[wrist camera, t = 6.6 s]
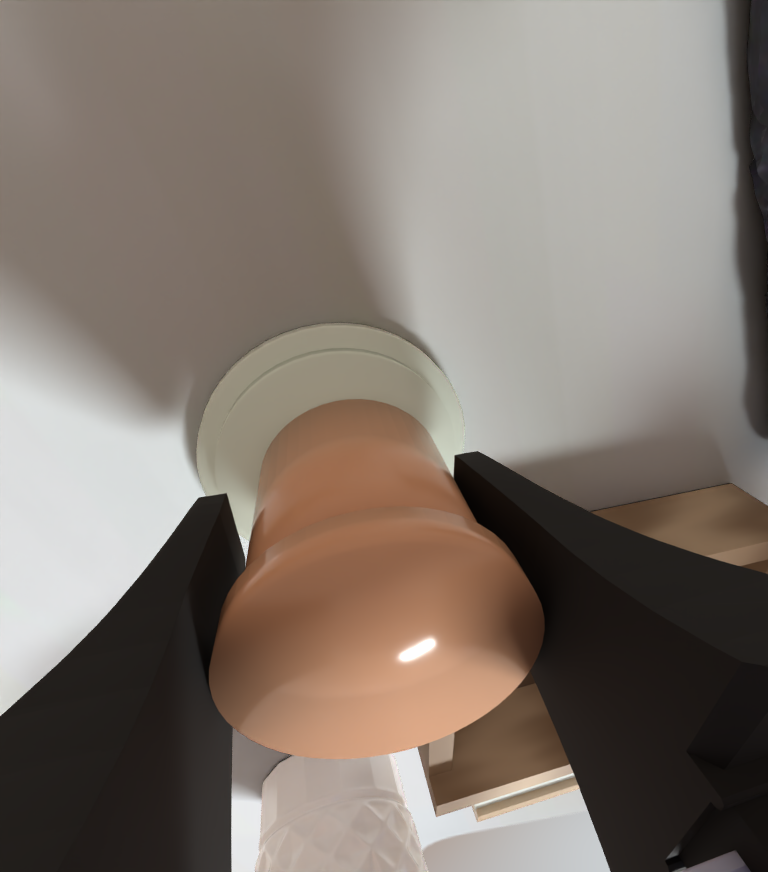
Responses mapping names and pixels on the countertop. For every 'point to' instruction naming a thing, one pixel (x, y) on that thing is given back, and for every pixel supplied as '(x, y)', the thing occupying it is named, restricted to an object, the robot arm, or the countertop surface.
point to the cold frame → (524, 708)
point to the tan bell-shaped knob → (367, 595)
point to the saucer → (314, 400)
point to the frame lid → (525, 797)
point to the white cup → (337, 818)
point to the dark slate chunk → (759, 105)
